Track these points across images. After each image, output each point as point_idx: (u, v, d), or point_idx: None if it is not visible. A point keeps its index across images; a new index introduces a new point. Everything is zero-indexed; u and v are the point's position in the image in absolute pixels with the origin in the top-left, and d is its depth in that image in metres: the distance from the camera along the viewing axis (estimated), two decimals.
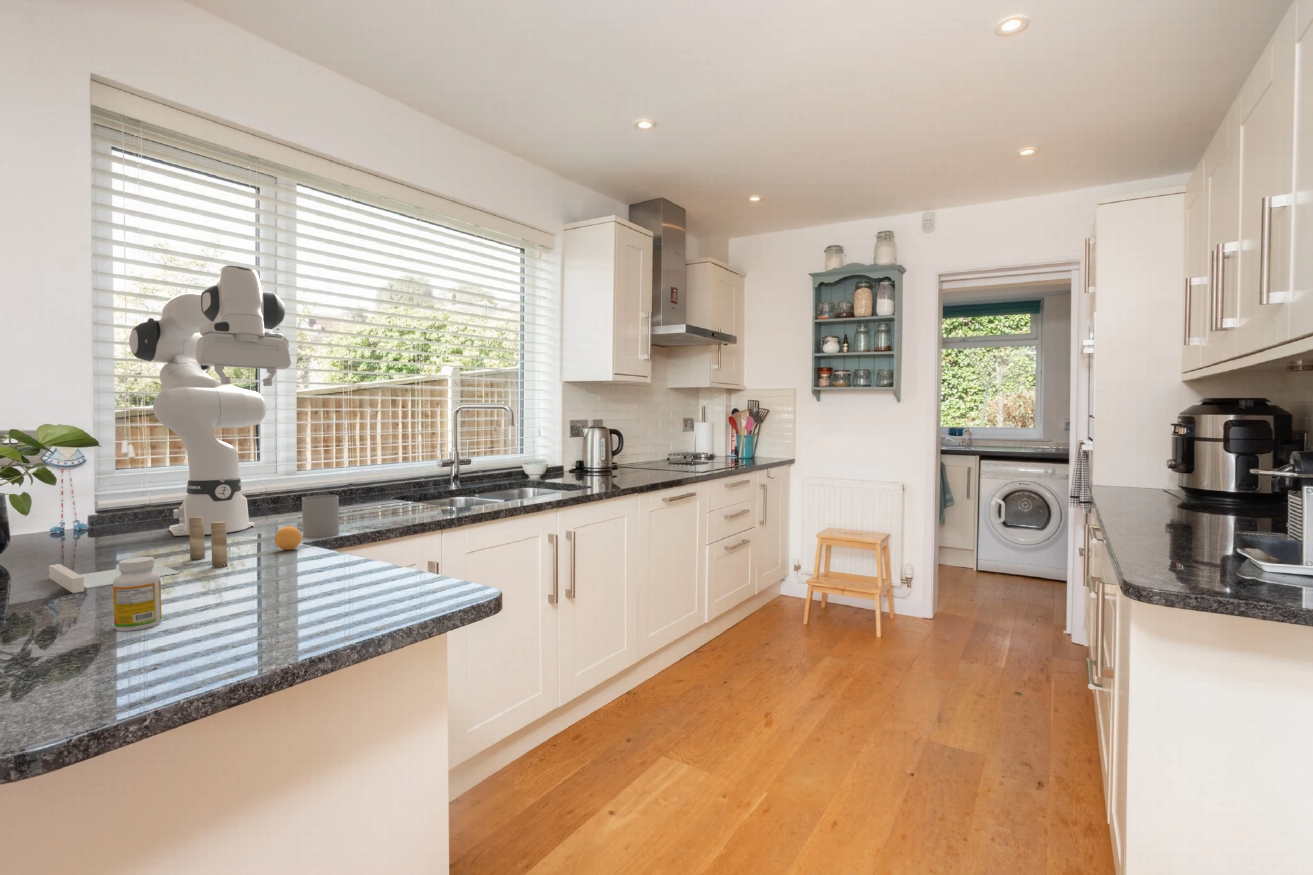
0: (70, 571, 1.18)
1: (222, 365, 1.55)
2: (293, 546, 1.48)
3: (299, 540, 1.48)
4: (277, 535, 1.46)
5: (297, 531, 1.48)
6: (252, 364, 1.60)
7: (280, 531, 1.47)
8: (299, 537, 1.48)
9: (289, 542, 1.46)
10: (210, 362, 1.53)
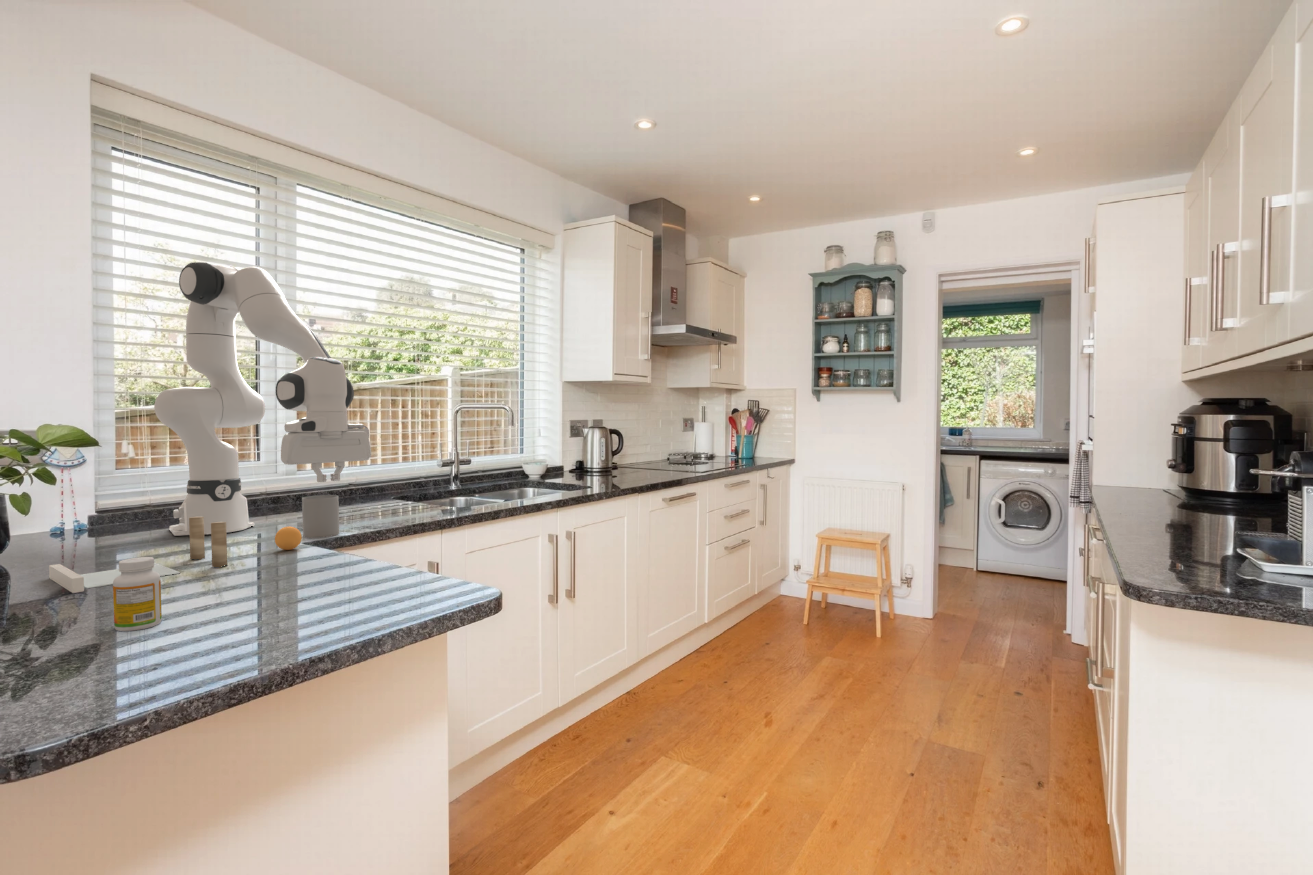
0: (70, 571, 1.18)
1: (320, 463, 1.53)
2: (293, 546, 1.48)
3: (299, 540, 1.48)
4: (277, 535, 1.46)
5: (297, 531, 1.48)
6: (335, 460, 1.55)
7: (280, 531, 1.47)
8: (299, 537, 1.48)
9: (289, 542, 1.46)
10: (295, 463, 1.48)
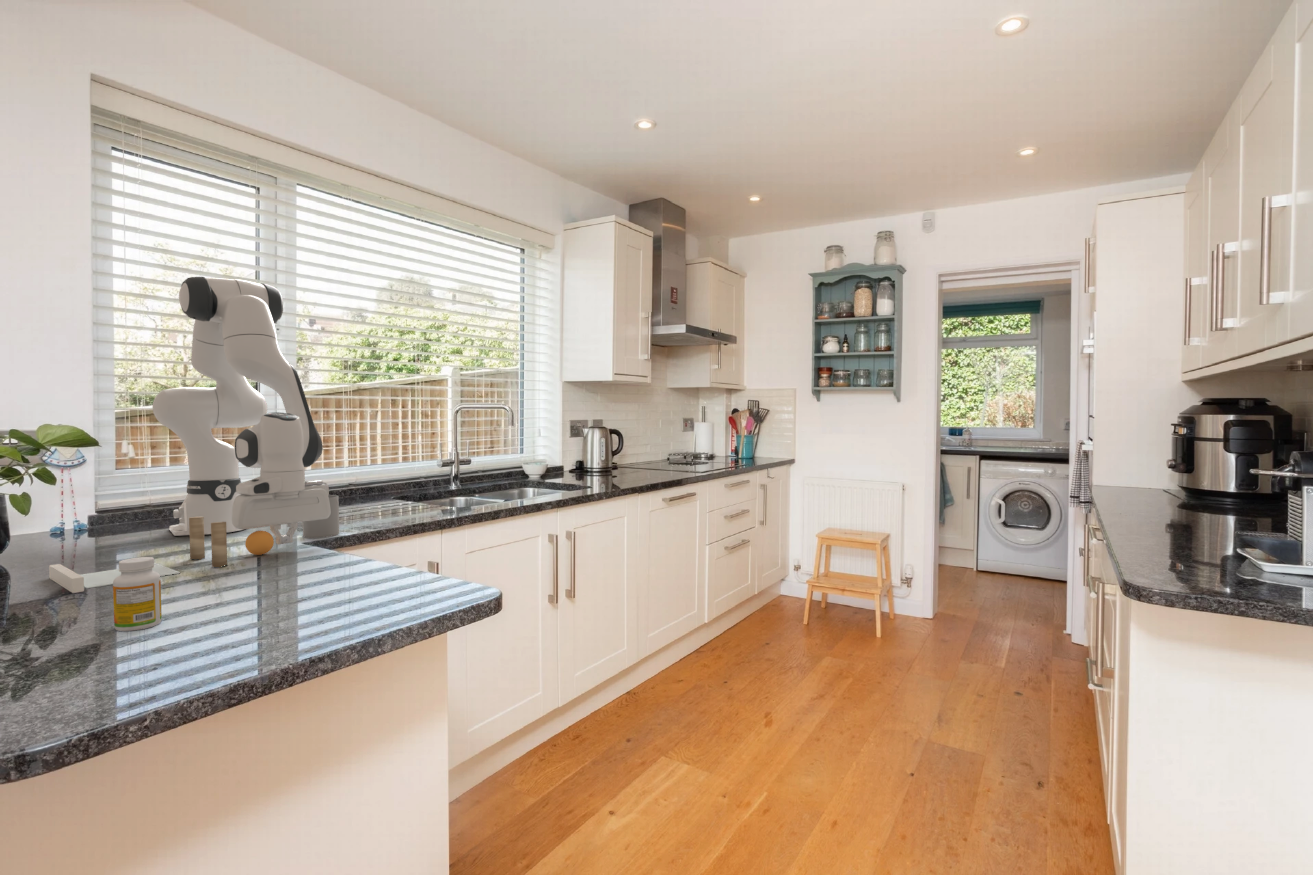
0: (70, 571, 1.18)
1: (279, 525, 1.46)
2: (271, 539, 1.43)
3: (264, 537, 1.42)
4: (259, 554, 1.43)
5: (255, 542, 1.41)
6: (291, 521, 1.47)
7: (255, 554, 1.42)
8: (262, 539, 1.41)
9: (270, 546, 1.43)
10: (247, 527, 1.40)
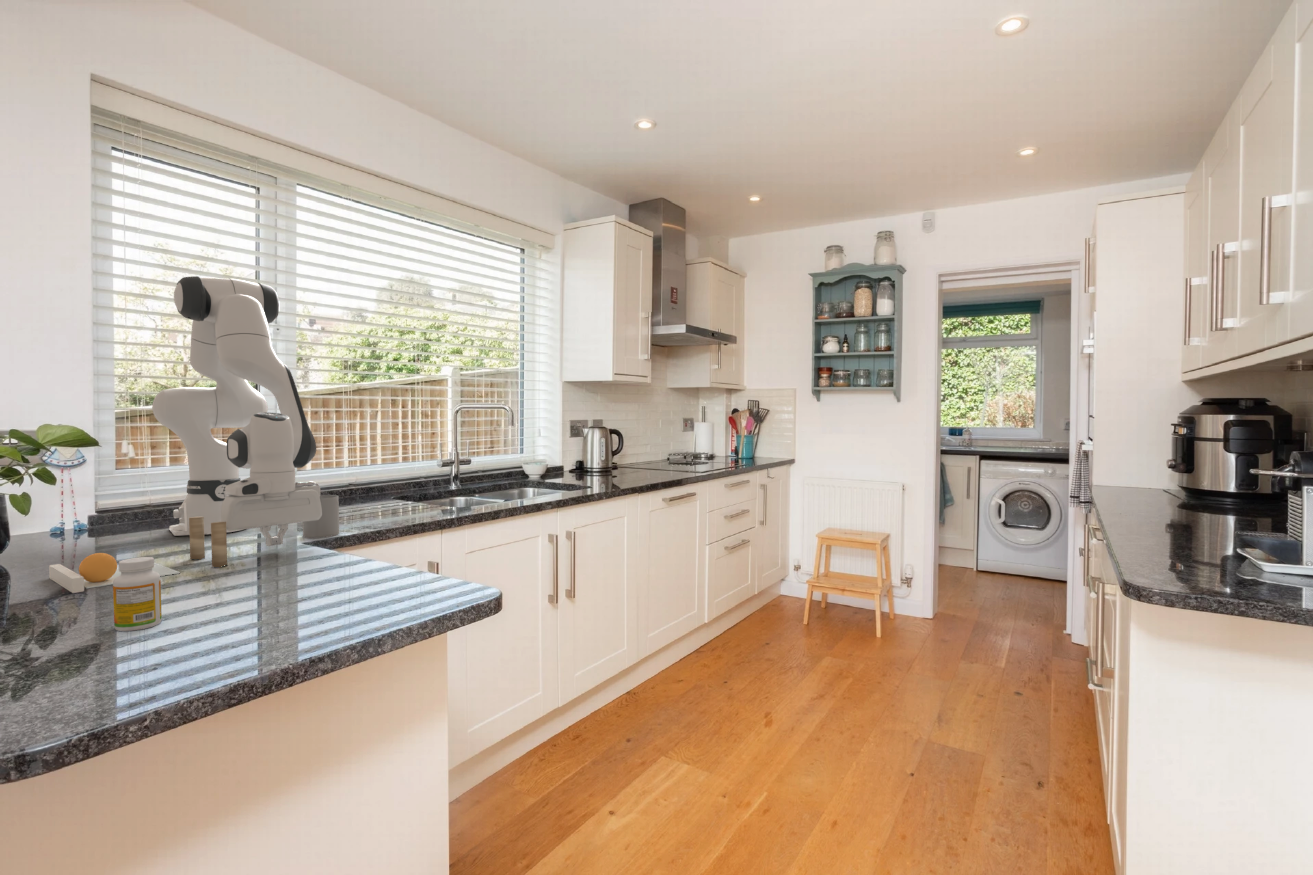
0: (70, 571, 1.18)
1: (268, 526, 1.44)
2: (101, 578, 1.18)
3: (111, 571, 1.19)
4: (81, 564, 1.18)
5: (109, 560, 1.19)
6: (281, 523, 1.46)
7: (86, 559, 1.18)
8: (111, 567, 1.19)
9: (94, 574, 1.17)
10: (236, 529, 1.39)
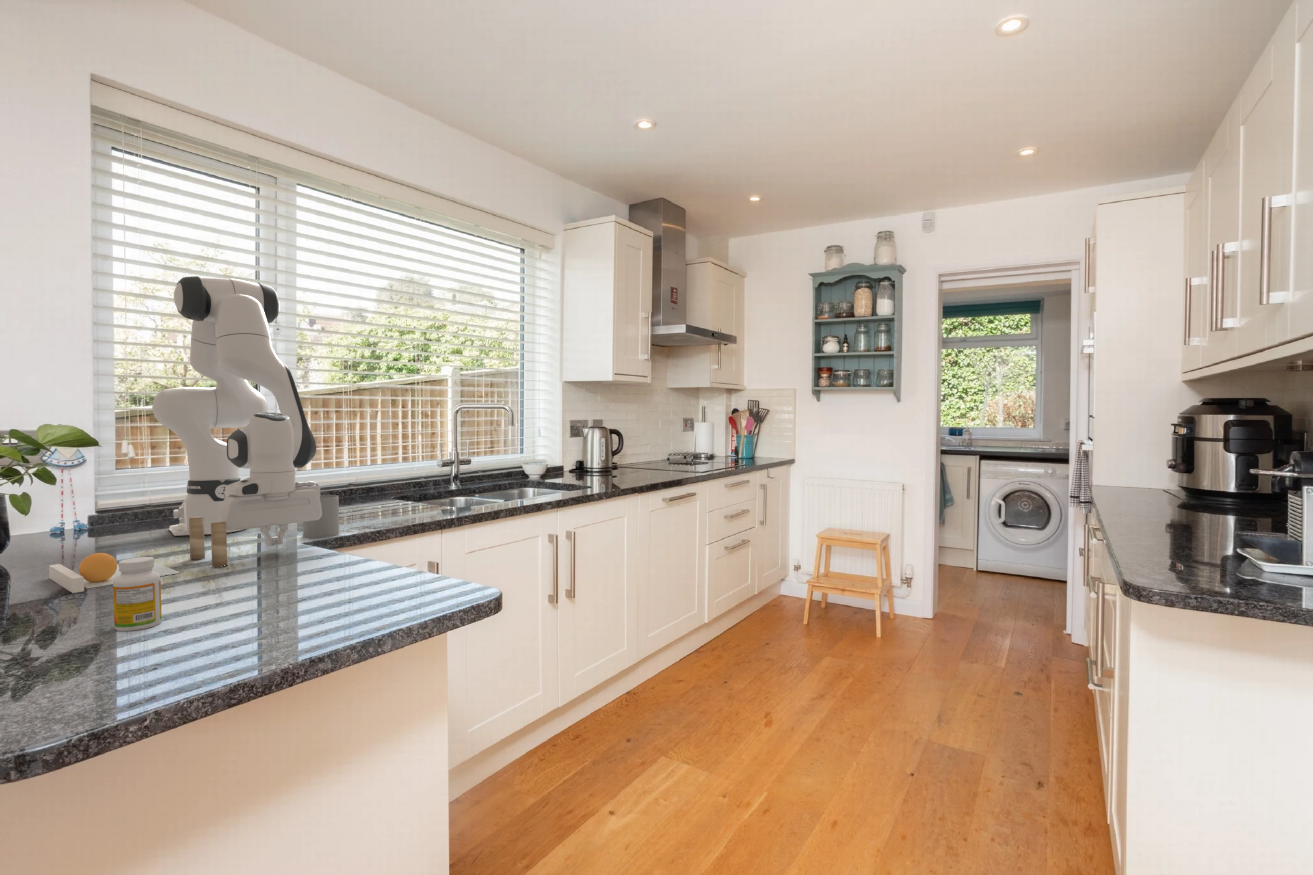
0: (70, 571, 1.18)
1: (268, 526, 1.44)
2: (101, 578, 1.18)
3: (111, 571, 1.19)
4: (81, 564, 1.18)
5: (109, 560, 1.19)
6: (281, 523, 1.46)
7: (86, 559, 1.18)
8: (111, 567, 1.19)
9: (94, 574, 1.17)
10: (236, 529, 1.39)
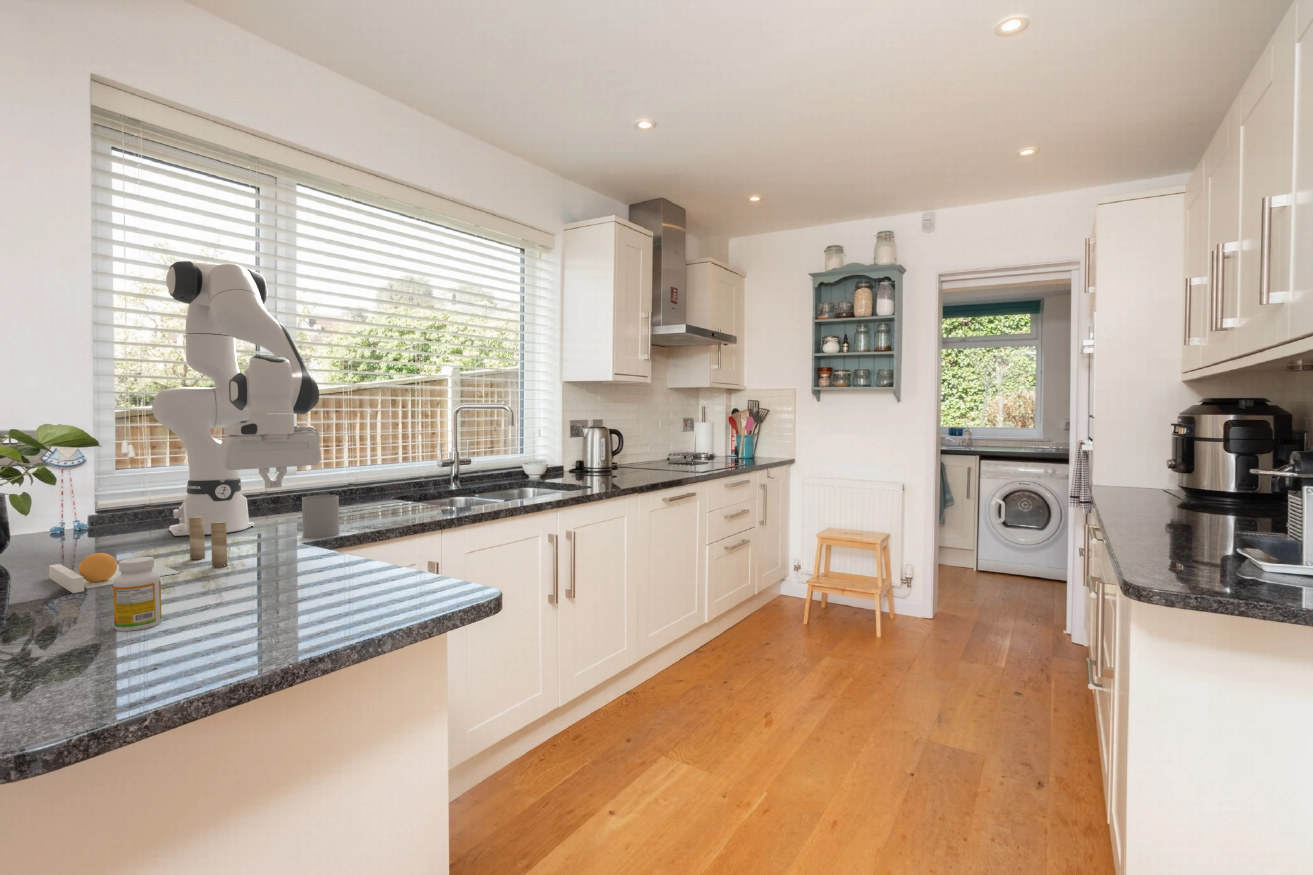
0: (70, 571, 1.18)
1: (267, 468, 1.44)
2: (101, 578, 1.18)
3: (111, 571, 1.19)
4: (81, 564, 1.18)
5: (109, 560, 1.19)
6: (280, 465, 1.46)
7: (86, 559, 1.18)
8: (111, 567, 1.19)
9: (94, 574, 1.17)
10: (235, 468, 1.38)
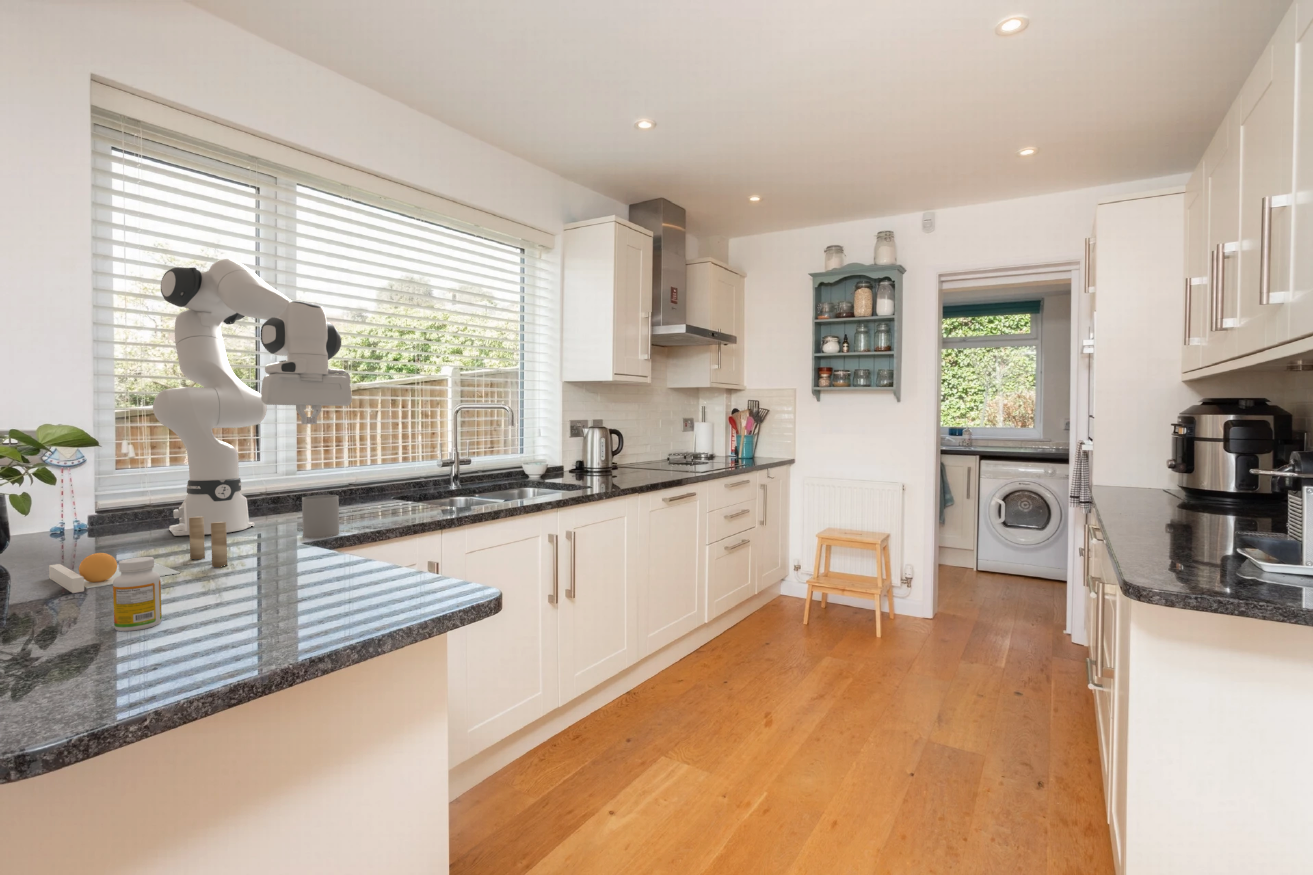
0: (70, 571, 1.18)
1: (304, 406, 1.56)
2: (101, 578, 1.18)
3: (111, 571, 1.19)
4: (81, 564, 1.18)
5: (109, 560, 1.19)
6: (315, 403, 1.57)
7: (86, 559, 1.18)
8: (111, 567, 1.19)
9: (94, 574, 1.17)
10: (275, 403, 1.50)
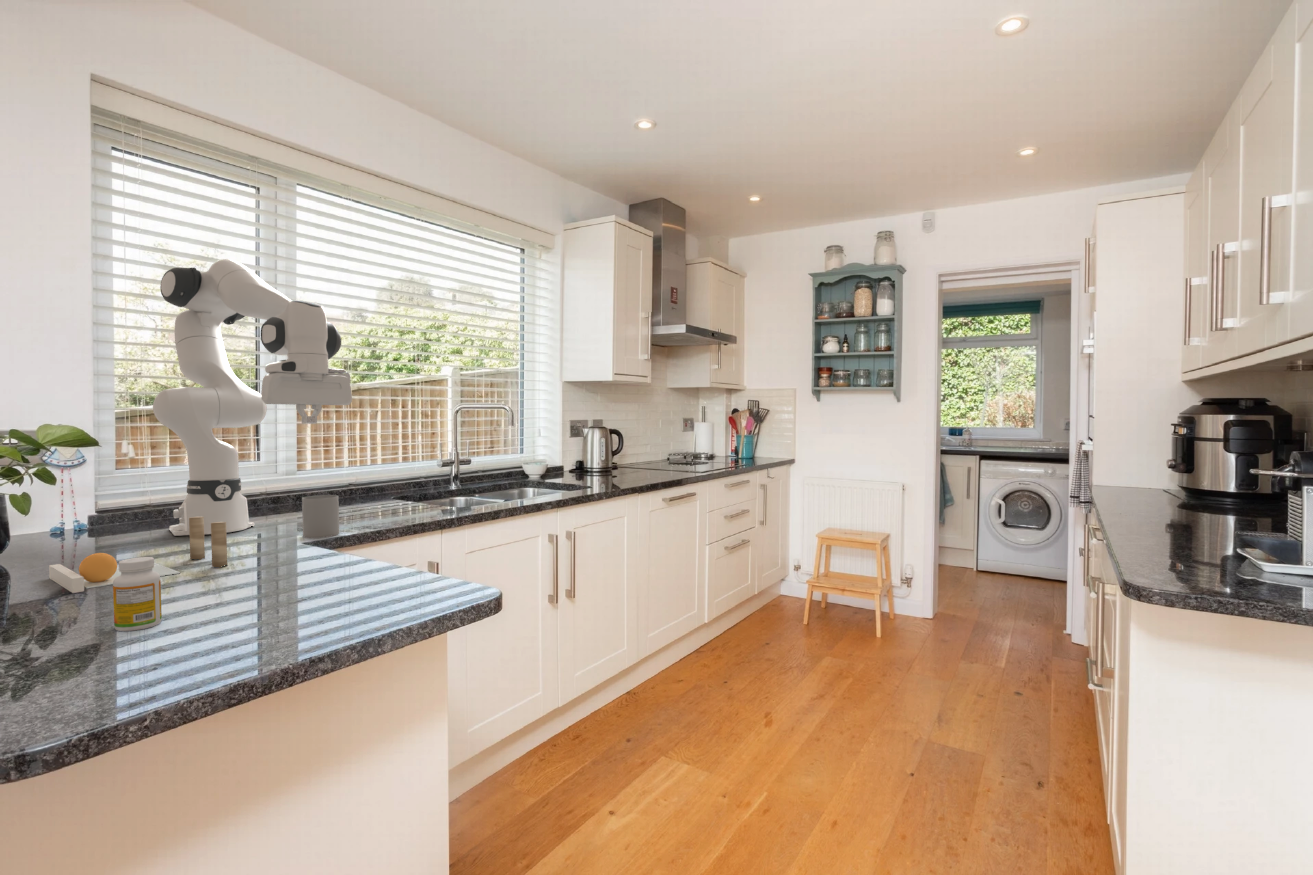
0: (70, 571, 1.18)
1: (304, 405, 1.56)
2: (101, 578, 1.18)
3: (111, 571, 1.19)
4: (81, 564, 1.18)
5: (109, 560, 1.19)
6: (315, 403, 1.57)
7: (86, 559, 1.18)
8: (111, 567, 1.19)
9: (94, 574, 1.17)
10: (276, 403, 1.50)
